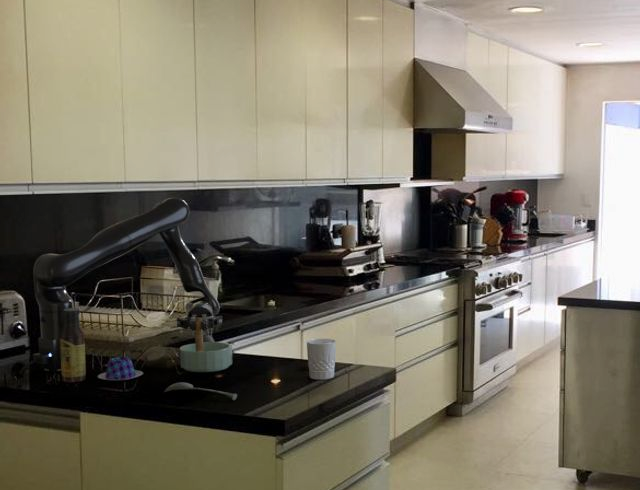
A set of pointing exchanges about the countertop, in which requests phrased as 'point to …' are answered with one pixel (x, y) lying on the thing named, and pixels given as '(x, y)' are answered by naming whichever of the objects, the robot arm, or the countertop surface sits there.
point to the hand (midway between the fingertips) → (198, 326)
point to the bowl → (206, 357)
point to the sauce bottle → (72, 348)
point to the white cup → (321, 358)
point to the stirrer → (198, 335)
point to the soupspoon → (190, 387)
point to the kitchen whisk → (207, 338)
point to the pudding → (120, 370)
